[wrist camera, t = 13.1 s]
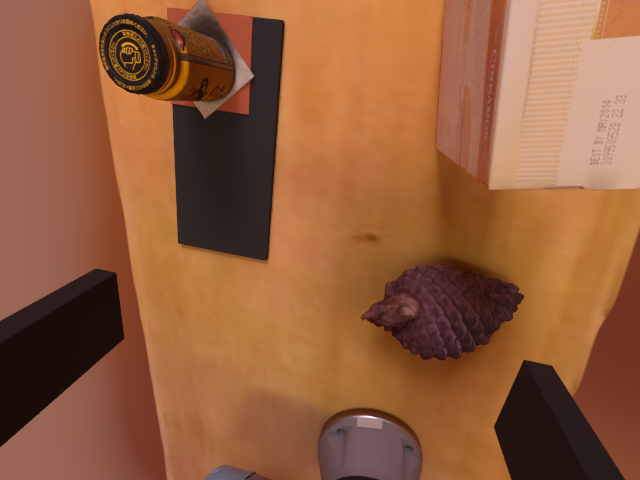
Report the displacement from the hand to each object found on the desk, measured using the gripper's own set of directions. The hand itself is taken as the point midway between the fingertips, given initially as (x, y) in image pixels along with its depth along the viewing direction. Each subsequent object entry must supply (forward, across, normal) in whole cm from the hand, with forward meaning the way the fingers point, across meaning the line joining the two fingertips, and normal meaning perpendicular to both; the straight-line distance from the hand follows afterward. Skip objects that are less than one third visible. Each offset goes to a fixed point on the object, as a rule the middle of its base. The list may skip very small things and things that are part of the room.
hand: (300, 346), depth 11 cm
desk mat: (+29, +16, -1) cm, 33 cm away
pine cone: (+29, -11, +12) cm, 33 cm away
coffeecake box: (+29, -9, -12) cm, 33 cm away
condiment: (+28, +18, -10) cm, 35 cm away
